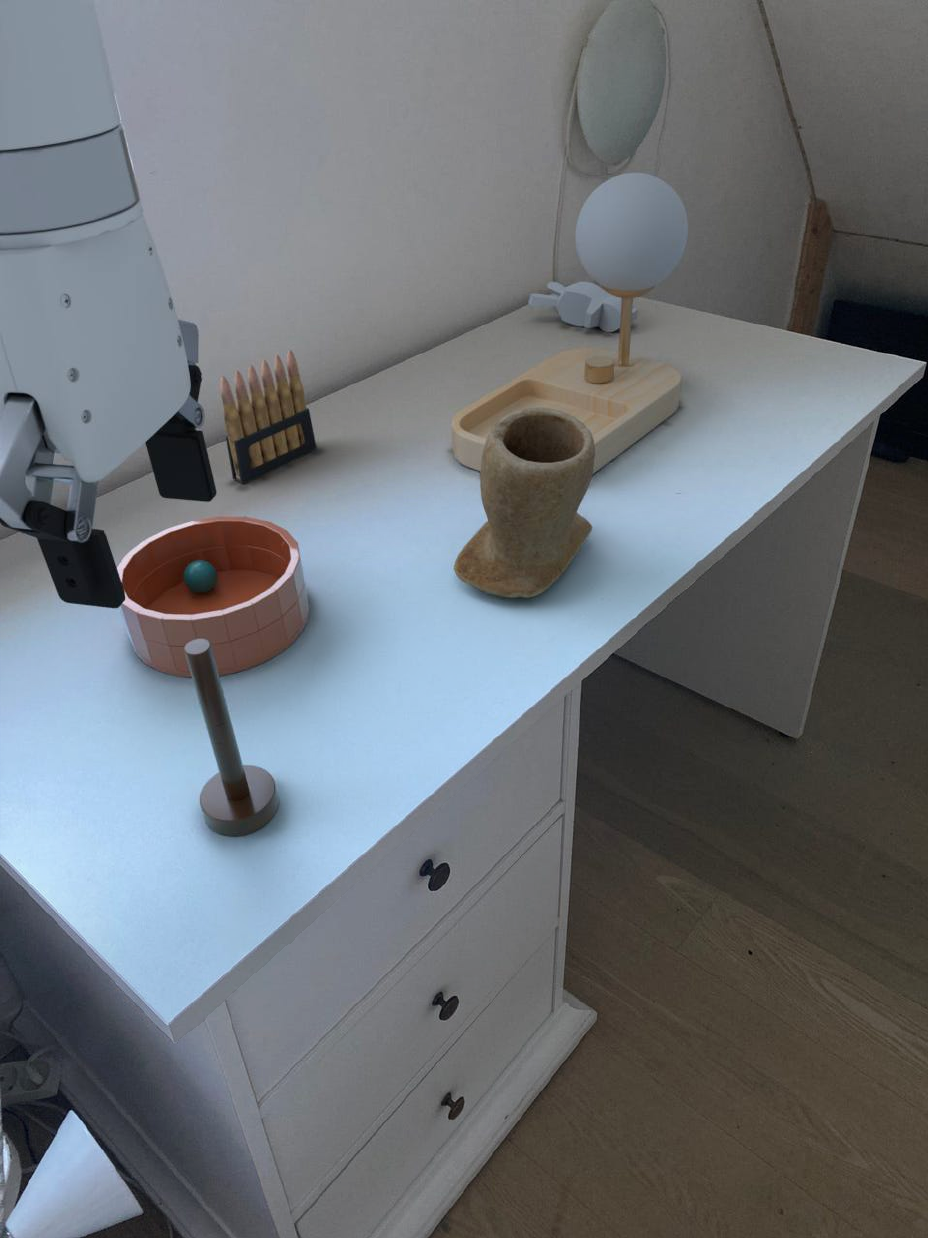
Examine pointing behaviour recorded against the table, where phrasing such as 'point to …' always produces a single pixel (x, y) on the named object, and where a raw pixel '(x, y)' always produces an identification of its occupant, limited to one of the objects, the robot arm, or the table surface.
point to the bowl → (214, 594)
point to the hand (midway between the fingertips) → (145, 545)
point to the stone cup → (529, 503)
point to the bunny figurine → (583, 305)
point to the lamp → (610, 380)
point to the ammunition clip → (266, 420)
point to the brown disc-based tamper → (228, 758)
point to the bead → (200, 576)
